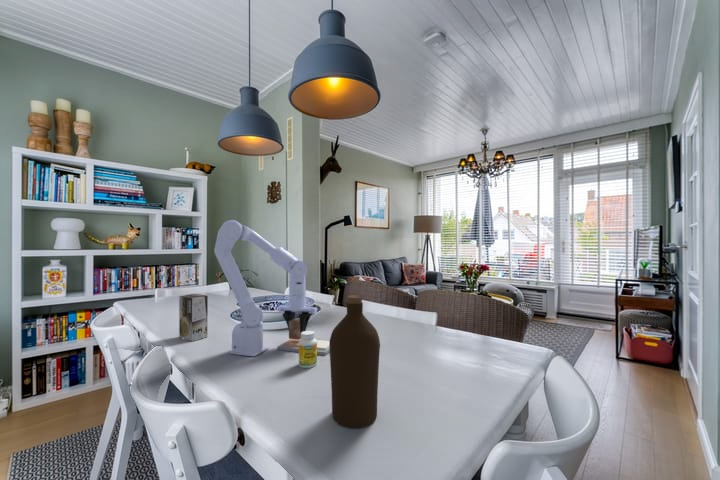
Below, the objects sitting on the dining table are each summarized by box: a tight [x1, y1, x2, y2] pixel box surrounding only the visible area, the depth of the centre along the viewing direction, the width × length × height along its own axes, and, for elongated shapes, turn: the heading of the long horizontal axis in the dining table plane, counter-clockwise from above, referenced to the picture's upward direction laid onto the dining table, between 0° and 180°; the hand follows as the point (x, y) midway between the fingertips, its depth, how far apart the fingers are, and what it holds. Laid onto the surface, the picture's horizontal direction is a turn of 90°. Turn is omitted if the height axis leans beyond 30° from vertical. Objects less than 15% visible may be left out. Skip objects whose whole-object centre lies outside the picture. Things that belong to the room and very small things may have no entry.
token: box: [288, 318, 301, 340], centre depth 108 cm, size 4×4×6 cm
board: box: [276, 338, 330, 356], centre depth 107 cm, size 18×11×2 cm, turn 72°
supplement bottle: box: [298, 330, 318, 369], centre depth 91 cm, size 5×5×10 cm
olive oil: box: [329, 294, 381, 429], centre depth 65 cm, size 11×11×25 cm
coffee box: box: [178, 293, 209, 342], centre depth 117 cm, size 9×6×16 cm
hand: (297, 332), depth 108 cm, fingers closed on token, 4 cm apart
